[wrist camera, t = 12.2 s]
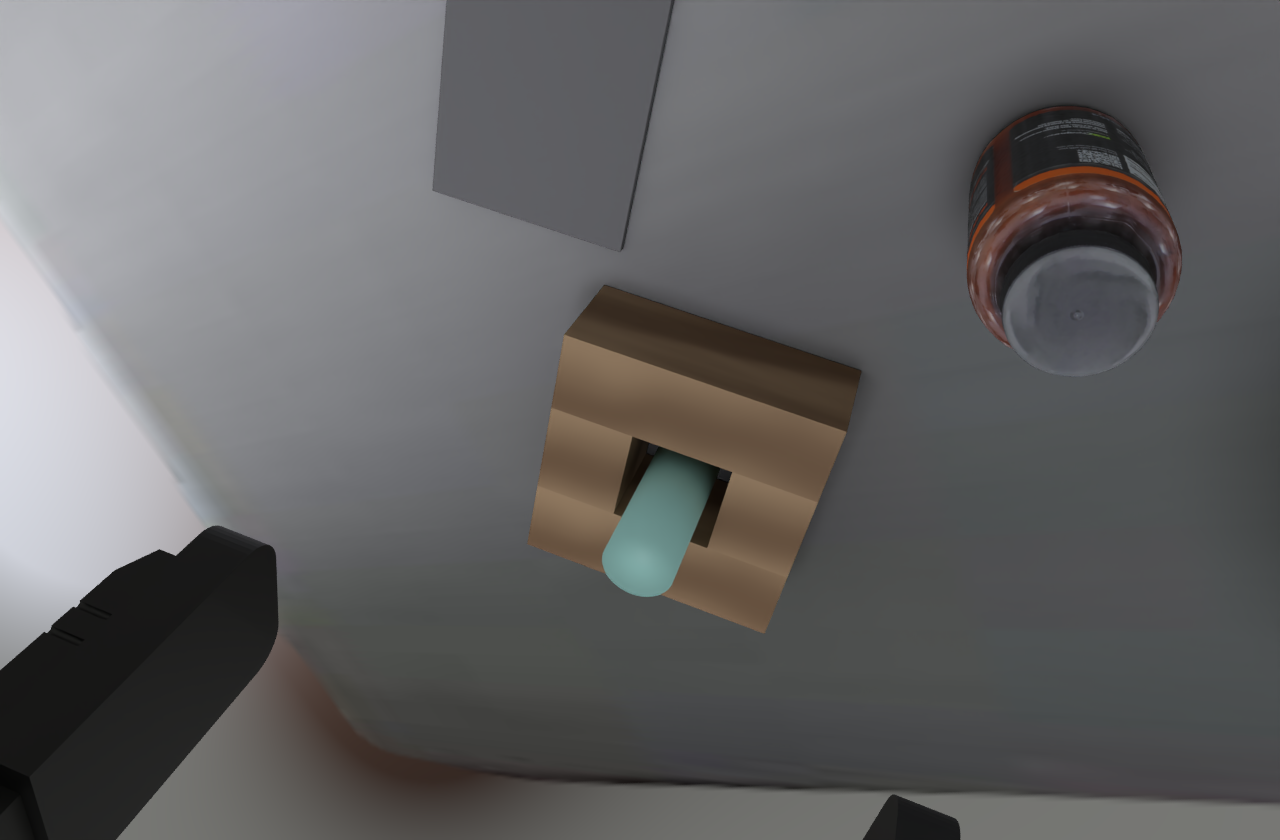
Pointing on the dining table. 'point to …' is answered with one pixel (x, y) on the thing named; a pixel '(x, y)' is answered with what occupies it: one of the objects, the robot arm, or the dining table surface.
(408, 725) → the dining table surface
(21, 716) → the robot arm
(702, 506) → the peg
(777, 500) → the hole block
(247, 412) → the dining table surface
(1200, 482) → the dining table surface
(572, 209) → the mat
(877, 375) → the dining table surface
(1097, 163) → the supplement bottle
